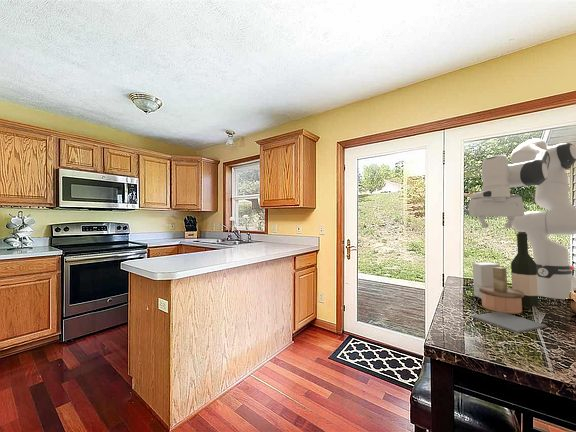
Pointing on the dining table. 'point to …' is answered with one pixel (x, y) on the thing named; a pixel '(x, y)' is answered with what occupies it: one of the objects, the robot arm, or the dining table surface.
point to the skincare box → (483, 276)
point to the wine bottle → (524, 272)
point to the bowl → (502, 304)
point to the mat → (509, 321)
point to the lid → (500, 285)
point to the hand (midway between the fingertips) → (496, 227)
